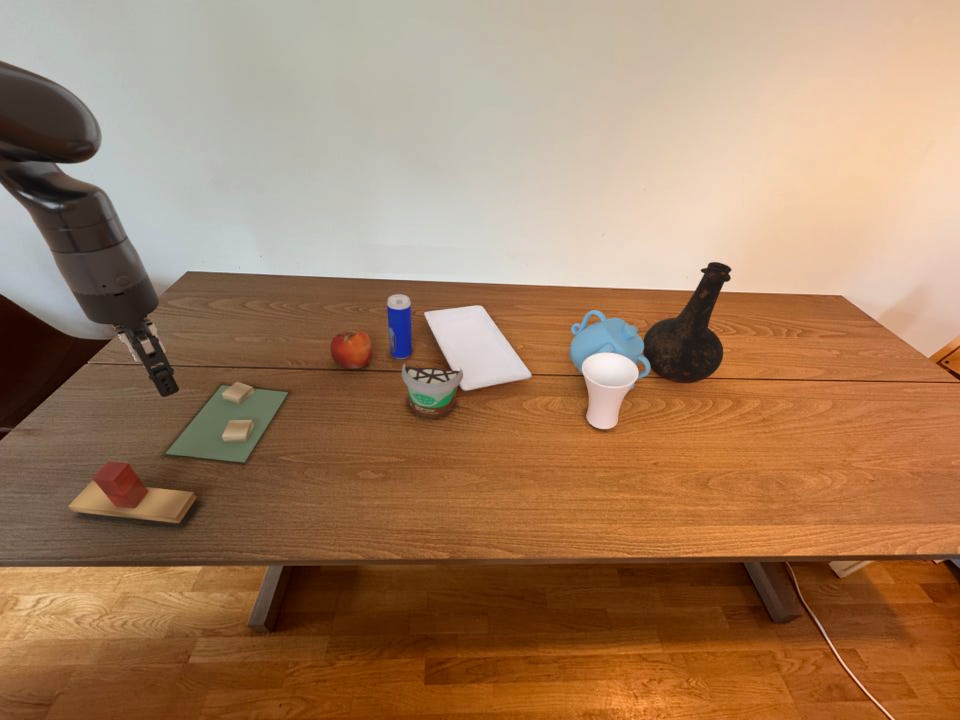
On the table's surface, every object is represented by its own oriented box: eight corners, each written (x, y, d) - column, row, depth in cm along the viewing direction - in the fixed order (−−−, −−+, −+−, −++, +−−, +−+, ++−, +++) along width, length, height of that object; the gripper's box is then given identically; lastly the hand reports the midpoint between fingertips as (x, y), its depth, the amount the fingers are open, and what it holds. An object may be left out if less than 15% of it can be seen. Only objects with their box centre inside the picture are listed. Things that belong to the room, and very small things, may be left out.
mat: (244, 462, 74) (244, 462, 73) (165, 454, 74) (165, 453, 74) (288, 392, 88) (288, 392, 88) (222, 385, 88) (221, 385, 88)
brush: (199, 502, 67) (176, 463, 61) (182, 528, 64) (156, 490, 57) (100, 492, 67) (67, 452, 61) (78, 517, 64) (40, 477, 58)
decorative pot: (560, 329, 102) (597, 290, 93) (613, 354, 106) (653, 319, 97) (563, 379, 91) (605, 340, 82) (622, 405, 95) (668, 371, 86)
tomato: (380, 367, 96) (377, 339, 91) (340, 380, 92) (335, 351, 87) (365, 346, 102) (362, 318, 97) (327, 356, 98) (322, 328, 93)
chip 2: (247, 441, 77) (245, 435, 76) (224, 442, 76) (221, 436, 75) (254, 425, 80) (252, 419, 79) (231, 425, 79) (229, 420, 78)
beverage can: (388, 348, 102) (385, 294, 93) (410, 345, 103) (408, 292, 94) (392, 361, 98) (388, 306, 89) (413, 358, 100) (412, 304, 90)
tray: (480, 313, 117) (481, 303, 115) (531, 387, 95) (534, 375, 93) (422, 322, 112) (422, 311, 110) (461, 402, 90) (462, 390, 87)
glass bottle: (666, 400, 95) (720, 292, 78) (621, 353, 108) (658, 251, 91) (726, 386, 101) (788, 282, 83) (675, 343, 114) (720, 245, 96)
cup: (629, 404, 91) (639, 355, 83) (627, 441, 83) (638, 391, 75) (579, 397, 94) (585, 349, 85) (573, 431, 86) (578, 382, 78)
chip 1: (240, 405, 84) (237, 399, 83) (223, 399, 85) (221, 393, 84) (254, 392, 87) (252, 386, 86) (238, 387, 88) (236, 381, 87)
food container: (397, 420, 84) (395, 383, 78) (403, 398, 89) (401, 362, 83) (459, 425, 84) (461, 388, 78) (461, 403, 89) (463, 367, 83)
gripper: (56, 263, 52) (116, 364, 62) (82, 311, 45) (145, 417, 55) (128, 248, 56) (173, 345, 66) (162, 290, 49) (207, 392, 59)
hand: (160, 377), depth 61 cm, fingers open, 8 cm apart
